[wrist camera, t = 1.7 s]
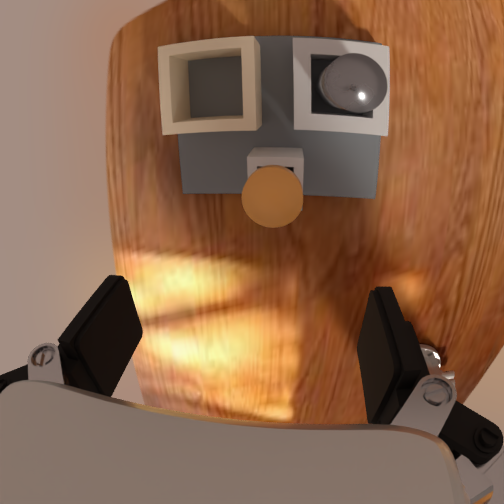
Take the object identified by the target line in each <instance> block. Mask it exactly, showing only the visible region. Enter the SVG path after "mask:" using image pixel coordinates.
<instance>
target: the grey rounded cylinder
mask: <svg viewBox="0 0 504 504" xmlns="http://www.w3.org/2000/svg"><path fill="white" fill-rule="evenodd" d="M315 89H316V93H317V95H318V97H319V98H320V99H321V100H322V101H323V102H324V103H326V104H327V105H329V106H333V107H337V108H340V109H344V110H348V111H352V112H357V113H362V112H368V111H371V110H373V109H375V108H376V107H378V106H379V105H380V104H381V103H382V102H383V100H384V98H385V96H386V93H387V78H386V75H385V73H384V71H383V69H382V68H381V66H380V65H379V64H378V63H377V62H376V61H375V60H373V59H372V58H370V57H368V56H366V55H363V54H359V53H348V54H344V55H342V56H340V57H338V58H337V59H335V60H334V61H333V62H332V63H331V64H330V65H328V66H327V67H326V68H325V69H324V70H323V71H322V72H321V73H320V74H319V75H318V76H317V79H316V82H315Z"/></svg>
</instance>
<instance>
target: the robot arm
mask: <svg viewBox="0 0 504 504" xmlns="http://www.w3.org/2000/svg"><path fill="white" fill-rule="evenodd" d="M142 334H143V330H142V327H141V323H140V320H139V317H138V314H137V311H136V308H135V304H134V301H133V298H132V294H131V291H130V287H129V284H128V281H127V280H125V279H124V277H123V276H117V275H109V276H108V277H107V278H106V279H105V280H104V282H103V283H102V284H101V285H100V286H99V288H98V289H97V290H96V291H95V292H94V294H93V295H92V296H91V297H90V299H89V300H88V301H87V302H86V304H85V305H84V306H83V307H82V309H81V310H80V311H79V312H78V314H77V315H76V316H75V318H74V319H73V320H72V321H71V323H70V324H69V326H68V327H67V328H66V329H65V331H64V332H63V333H62V335H61V336H60V337H59V339H58V341H59V343H60V344H59V346H58V347H57V346H56V345H55V344H52V343H44V344H41V345H39V346H37V347H36V348H34V349H33V350H32V351H31V353H30V355H29V357H28V364H27V365H25V366H22V367H20V368H17V369H15V370H12V371H10V372H7V373H5V374H2V375H0V504H504V446H503V435H502V432H501V430H500V429H499V427H498V426H497V425H495V424H494V423H493V422H491V421H489V420H488V419H486V418H484V417H483V416H481V415H479V414H478V413H476V412H474V411H472V410H471V409H469V408H467V407H466V406H464V405H463V404H461V403H459V402H458V401H456V397H457V393H456V389H455V380H454V371H446V372H442V371H441V370H440V366H441V360H440V356H439V354H438V352H437V351H436V350H435V349H434V348H433V347H431V346H428V345H424V344H419V342H418V339H417V336H416V334H415V331H414V329H413V326H412V324H411V322H409V321H405V320H404V317H403V315H402V312H401V310H400V307H399V304H398V302H397V299H396V297H395V294H394V292H393V290H392V288H391V287H376V288H375V290H371V291H370V294H369V298H368V303H367V307H366V312H365V316H364V320H363V324H362V328H361V332H360V336H359V340H358V345H357V352H358V358H359V364H360V370H361V377H362V383H363V390H364V397H365V405H366V412H367V420H368V423H369V424H292V423H272V422H257V421H246V420H236V419H226V418H218V417H210V416H203V415H196V414H190V413H184V412H178V411H172V410H167V409H161V408H156V407H151V406H146V405H142V404H137V403H133V402H128V401H124V400H120V399H116V398H112V397H111V396H112V394H113V392H114V390H115V388H116V386H117V384H118V382H119V380H120V378H121V376H122V374H123V372H124V370H125V368H126V366H127V365H128V363H129V361H130V359H131V357H132V355H133V353H134V351H135V349H136V347H137V345H138V344H139V342H140V340H141V338H142ZM371 423H372V424H371Z"/></svg>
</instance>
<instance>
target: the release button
mask: <svg viewBox="0 0 504 504" xmlns="http://www.w3.org/2000/svg"><path fill="white" fill-rule="evenodd" d="M241 199H242V205H243V208H244V210H245V212H246V214H247V215H248V216H249V217H250V219H252V220H253V221H254V222H256V223H257V224H259V225H261V226H264V227H270V228H277V227H282V226H285V225H287V224H289V223H291V222H292V221H293V220H294V219H295V218H296V217H297V216H298V215H299V213H300V211H301V209H302V206H303V190H302V185H301V183H300V180H299V179H298V177H297V176H296V175H295V174H294V173H293V172H292V171H291V170H289V169H287V168H285V167H283V166H279V165H266V166H263V167H261V168H258V169H257V170H255V171H254V172H253V173H252V174H251V175H250V176H249V178H248V180H247V182H246V183H245V185H244V187H243V190H242V198H241Z"/></svg>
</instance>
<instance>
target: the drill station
mask: <svg viewBox="0 0 504 504" xmlns="http://www.w3.org/2000/svg"><path fill="white" fill-rule="evenodd" d="M348 53H359V54H363V55H366V56H368V57H370V58H372V59H373V60H375V61H376V62H377V63H378V64H379V65H380V66H381V68H382V69H383V71H384V73H385V75H386V78H387V93H386V96H385V98H384V100H383V102H382V103H381V104H380V105H379V106H378V107H376V108H375V109H373V110H371V111H368V112H362V113H357V112H352V111H348V110H344V109H340V108H337V107H333V106H329V105H327V104H326V103H324V102H323V101H322V100H321V99H320V98H319V97H318V95H317V93H316V89H315V82H316V79H317V76H318V75H319V74H320V73H321V72H322V71H323V70H324V69H325V68H326V67H327V66H328V65H330V64H331V63H332V62H333V61H334V60H335V59H337V58H338V57H340V56H342V55H344V54H348ZM158 71H159V91H160V108H161V122H162V134H163V135H170V134H178V145H179V157H180V168H181V179H182V189H183V194H242V190H243V187H244V185H245V183H246V182H247V180H248V178H249V176H250V175H251V174H252V173H253V172H254V171H255V170H257V169H258V168H261V167H263V166H266V165H279V166H283V167H285V168H287V169H289V170H291V171H292V172H293V173H294V174H295V175H296V176H297V177H298V179H299V180H300V183H301V185H302V190H303V195H314V196H336V197H354V198H369V199H375V196H376V187H377V177H378V166H379V153H380V139H381V136H388V122H389V92H390V60H389V46H383V45H382V44H381V43H375V42H368V41H360V40H351V39H341V38H329V37H312V36H241V37H227V38H216V39H206V40H198V41H191V42H184V43H177V44H171V45H165V46H160V47H158ZM301 211H302V209H301Z"/></svg>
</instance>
